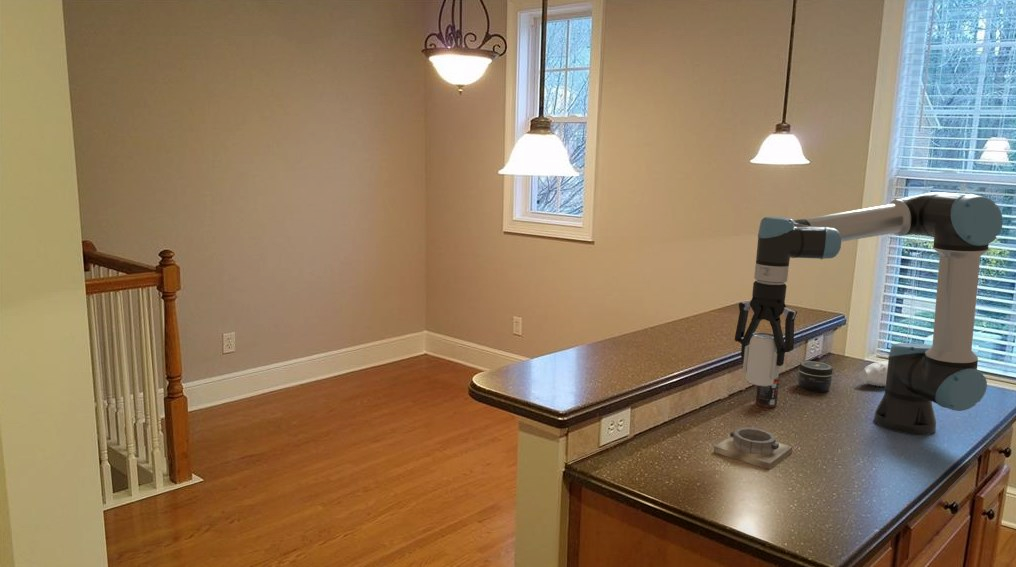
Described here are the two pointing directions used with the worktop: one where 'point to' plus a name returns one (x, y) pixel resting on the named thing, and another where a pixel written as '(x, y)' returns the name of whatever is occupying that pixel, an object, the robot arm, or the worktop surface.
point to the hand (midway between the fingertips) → (760, 374)
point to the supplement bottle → (768, 395)
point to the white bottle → (874, 373)
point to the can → (760, 359)
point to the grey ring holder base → (753, 447)
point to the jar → (815, 376)
